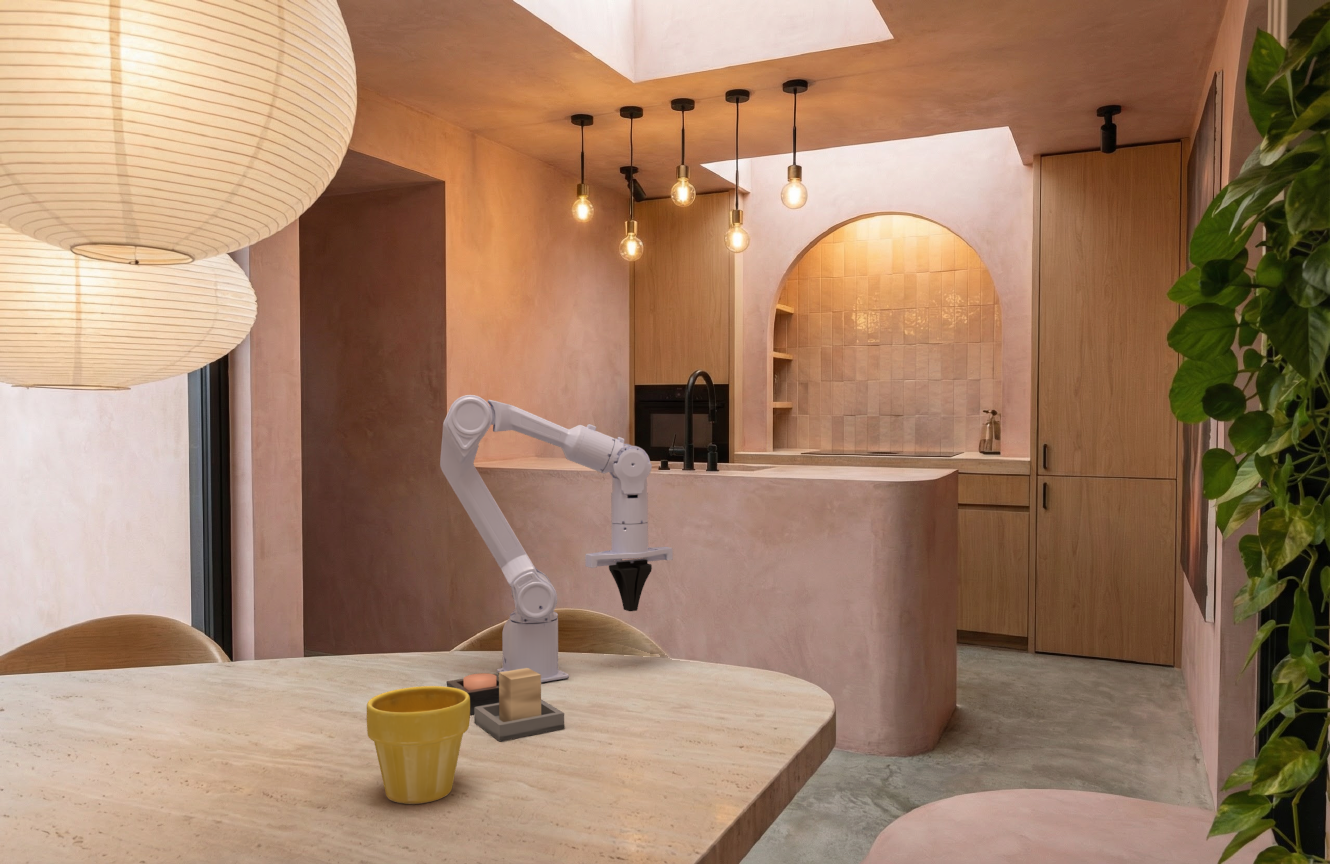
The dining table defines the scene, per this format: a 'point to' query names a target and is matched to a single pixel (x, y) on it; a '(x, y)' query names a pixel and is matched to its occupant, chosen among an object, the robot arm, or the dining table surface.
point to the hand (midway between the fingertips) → (630, 609)
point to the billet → (519, 694)
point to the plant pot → (418, 740)
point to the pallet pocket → (518, 722)
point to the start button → (479, 681)
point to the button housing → (478, 693)
